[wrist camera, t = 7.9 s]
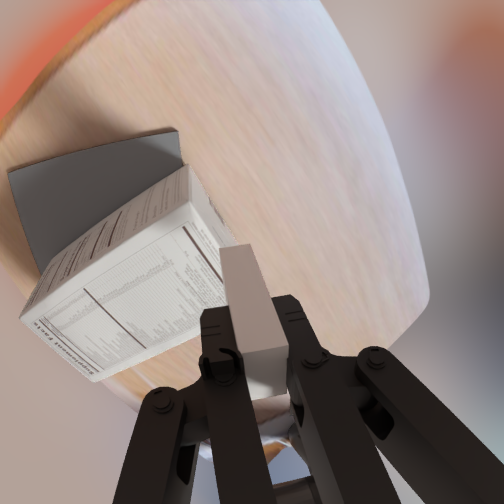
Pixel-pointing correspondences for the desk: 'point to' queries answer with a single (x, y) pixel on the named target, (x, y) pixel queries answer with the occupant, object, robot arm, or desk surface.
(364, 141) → the desk surface
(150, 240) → the supplement box
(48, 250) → the mat
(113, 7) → the desk surface
